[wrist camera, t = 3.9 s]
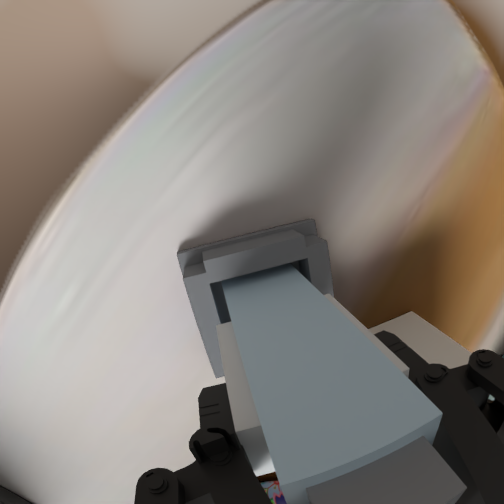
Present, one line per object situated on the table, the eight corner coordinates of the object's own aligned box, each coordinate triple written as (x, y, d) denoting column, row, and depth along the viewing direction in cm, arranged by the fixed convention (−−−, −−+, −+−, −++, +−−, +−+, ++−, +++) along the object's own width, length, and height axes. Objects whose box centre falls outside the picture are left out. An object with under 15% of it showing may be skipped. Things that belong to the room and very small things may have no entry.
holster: (213, 365, 19) (216, 388, 17) (177, 251, 17) (174, 264, 15) (326, 332, 20) (341, 350, 18) (311, 218, 18) (328, 225, 15)
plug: (236, 338, 18) (316, 583, 4) (220, 279, 17) (307, 562, 3) (298, 320, 19) (442, 524, 4) (288, 261, 18) (490, 463, 3)
